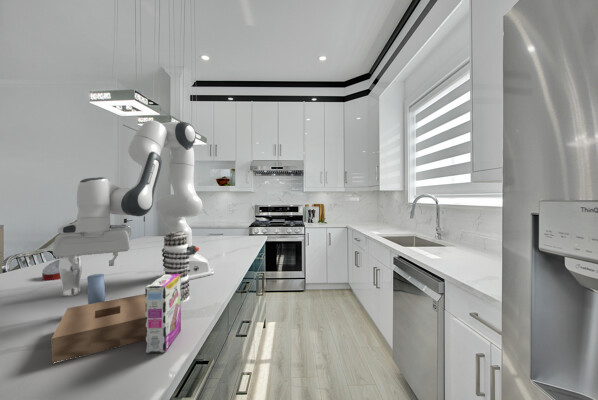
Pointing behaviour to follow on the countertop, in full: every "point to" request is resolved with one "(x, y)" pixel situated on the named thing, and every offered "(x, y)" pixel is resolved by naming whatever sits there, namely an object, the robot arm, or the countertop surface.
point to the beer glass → (70, 276)
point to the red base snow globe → (51, 271)
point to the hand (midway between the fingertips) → (94, 267)
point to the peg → (96, 288)
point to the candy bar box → (163, 312)
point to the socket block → (99, 327)
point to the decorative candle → (177, 259)
